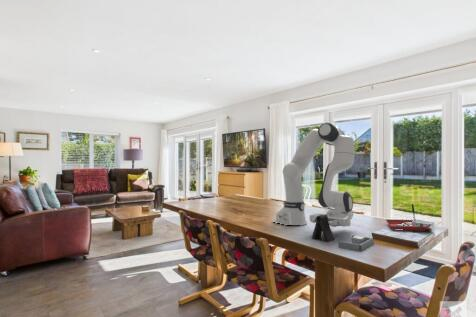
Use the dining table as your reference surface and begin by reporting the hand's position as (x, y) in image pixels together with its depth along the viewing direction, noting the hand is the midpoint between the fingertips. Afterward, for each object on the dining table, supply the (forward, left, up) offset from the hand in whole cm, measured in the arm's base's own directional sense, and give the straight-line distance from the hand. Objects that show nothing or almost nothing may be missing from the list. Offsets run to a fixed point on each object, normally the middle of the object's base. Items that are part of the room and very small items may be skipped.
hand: (321, 222), depth 137 cm
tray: (+17, 0, -8) cm, 19 cm away
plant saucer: (+24, +50, -9) cm, 57 cm away
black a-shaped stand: (0, 0, -9) cm, 9 cm away
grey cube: (+18, 0, -9) cm, 20 cm away
